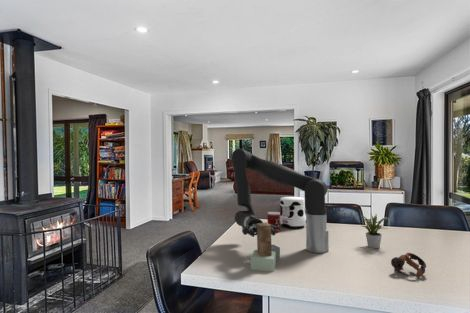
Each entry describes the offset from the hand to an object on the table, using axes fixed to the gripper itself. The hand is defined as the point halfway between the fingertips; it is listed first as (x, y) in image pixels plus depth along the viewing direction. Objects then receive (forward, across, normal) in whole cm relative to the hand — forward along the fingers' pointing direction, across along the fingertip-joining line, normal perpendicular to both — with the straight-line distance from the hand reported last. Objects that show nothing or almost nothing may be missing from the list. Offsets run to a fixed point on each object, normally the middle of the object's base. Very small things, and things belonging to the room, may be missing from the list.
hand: (263, 233), depth 113 cm
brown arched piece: (+18, +50, +13) cm, 55 cm away
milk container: (-62, +38, +13) cm, 74 cm away
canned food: (-52, +22, +13) cm, 58 cm away
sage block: (0, 0, +13) cm, 13 cm away
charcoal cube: (-8, +6, +13) cm, 16 cm away
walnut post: (0, 0, +8) cm, 8 cm away
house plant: (-12, +60, +13) cm, 63 cm away
